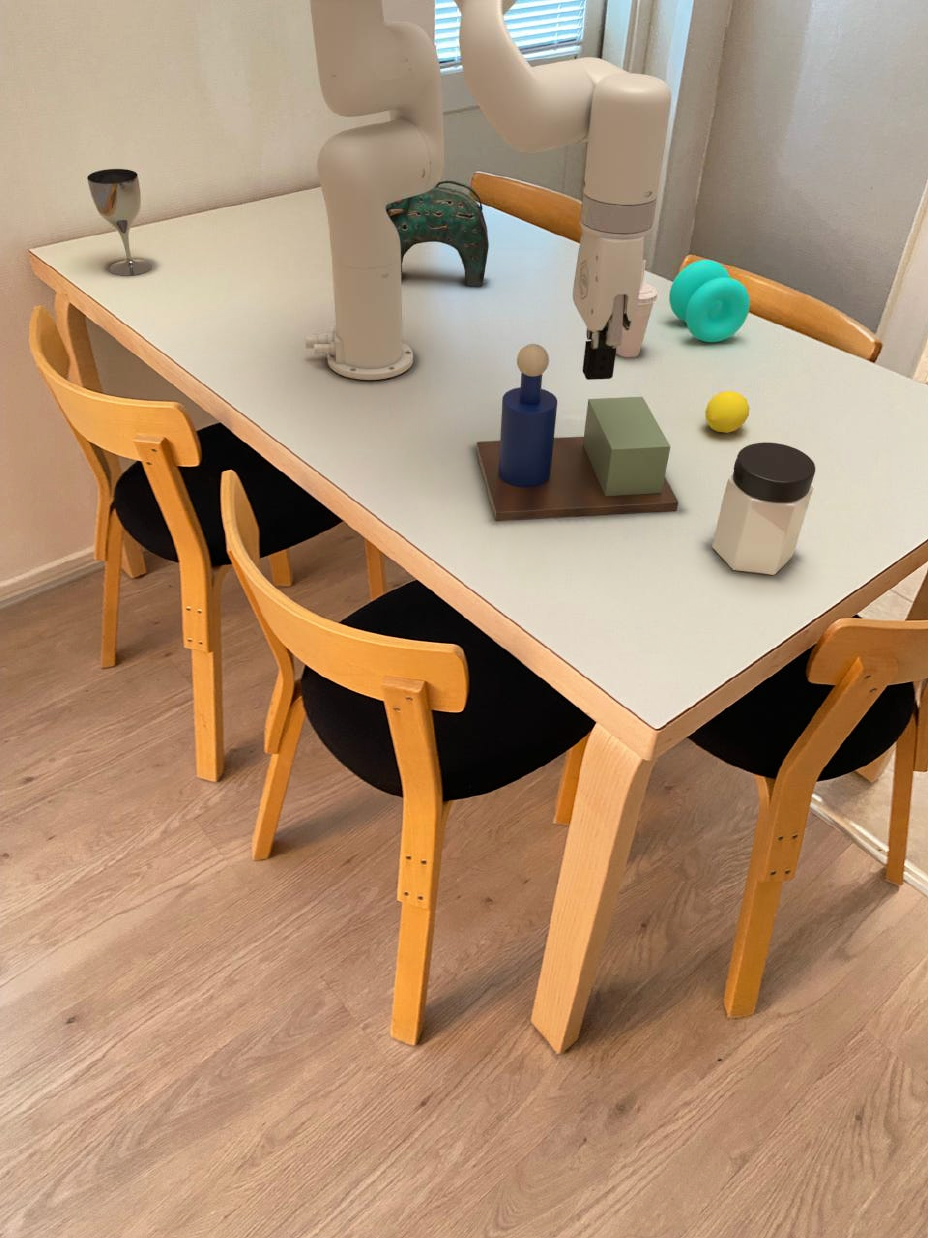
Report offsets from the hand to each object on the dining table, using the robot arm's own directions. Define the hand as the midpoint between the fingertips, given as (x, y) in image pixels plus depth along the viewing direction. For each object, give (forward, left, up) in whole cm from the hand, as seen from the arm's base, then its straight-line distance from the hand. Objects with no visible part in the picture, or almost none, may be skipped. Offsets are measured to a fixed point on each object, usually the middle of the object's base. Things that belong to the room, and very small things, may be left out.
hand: (597, 375), depth 112 cm
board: (-1, 0, -14) cm, 14 cm away
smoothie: (+15, +34, -14) cm, 40 cm away
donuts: (+29, +40, -14) cm, 51 cm away
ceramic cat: (-12, +64, -14) cm, 67 cm away
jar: (+16, -17, -14) cm, 27 cm away
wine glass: (-63, +73, -14) cm, 98 cm away
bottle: (-3, 0, -11) cm, 12 cm away
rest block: (+5, 0, -13) cm, 13 cm away
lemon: (+22, +10, -14) cm, 28 cm away
